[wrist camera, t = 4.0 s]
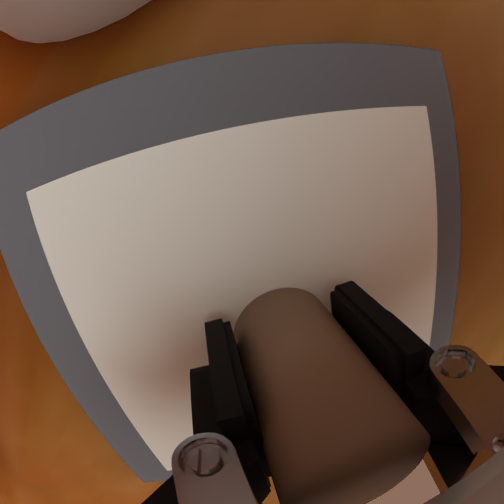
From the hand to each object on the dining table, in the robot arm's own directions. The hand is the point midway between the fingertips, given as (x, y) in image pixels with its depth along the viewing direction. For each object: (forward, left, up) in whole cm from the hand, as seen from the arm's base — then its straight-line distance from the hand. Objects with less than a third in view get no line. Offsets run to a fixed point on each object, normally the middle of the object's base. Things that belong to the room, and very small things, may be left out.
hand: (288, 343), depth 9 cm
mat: (0, 0, -3) cm, 3 cm away
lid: (0, 0, -2) cm, 2 cm away
